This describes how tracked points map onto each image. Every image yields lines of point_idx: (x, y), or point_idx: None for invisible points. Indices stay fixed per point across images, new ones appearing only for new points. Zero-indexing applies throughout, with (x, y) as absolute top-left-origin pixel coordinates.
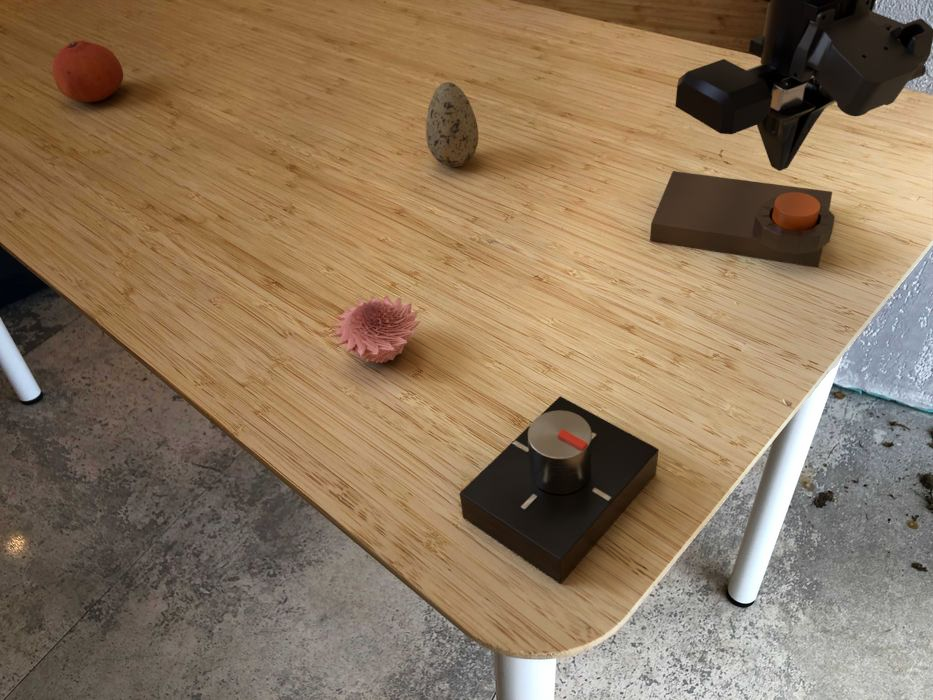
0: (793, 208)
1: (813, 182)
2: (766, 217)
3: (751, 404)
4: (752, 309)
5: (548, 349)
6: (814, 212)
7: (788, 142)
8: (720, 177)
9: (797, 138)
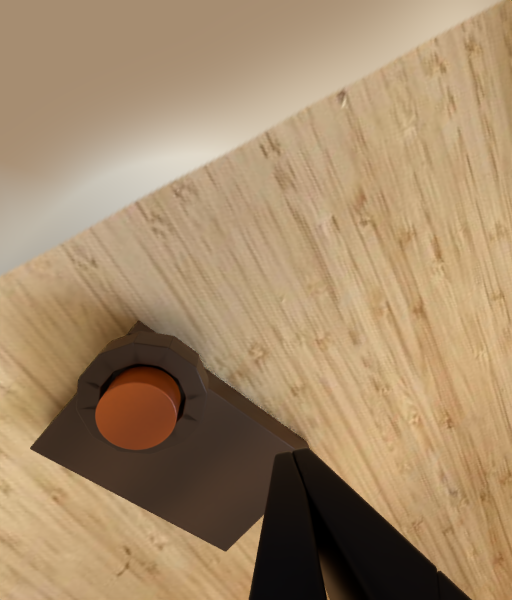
0: (150, 409)
1: (33, 484)
2: (188, 414)
3: (381, 119)
4: (271, 280)
5: (509, 313)
6: (122, 386)
7: (389, 564)
8: (173, 523)
9: (323, 583)
